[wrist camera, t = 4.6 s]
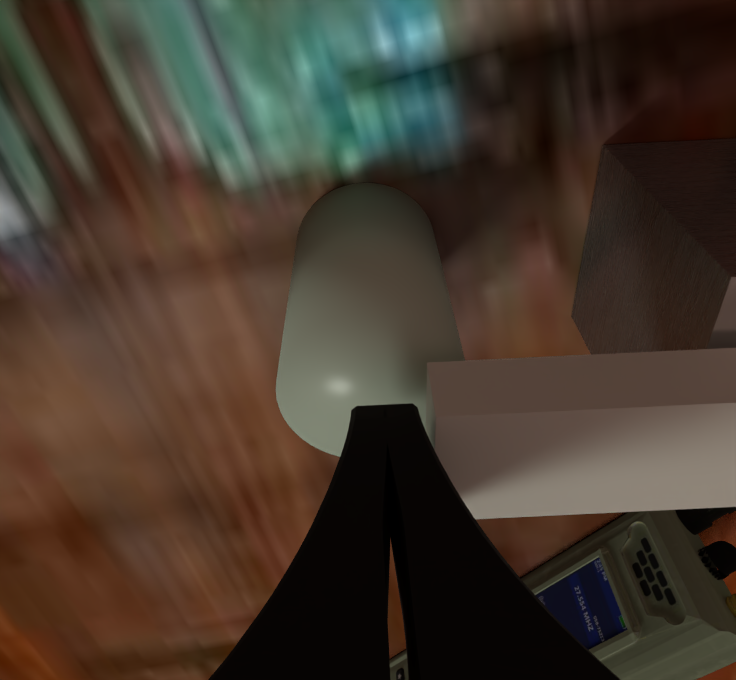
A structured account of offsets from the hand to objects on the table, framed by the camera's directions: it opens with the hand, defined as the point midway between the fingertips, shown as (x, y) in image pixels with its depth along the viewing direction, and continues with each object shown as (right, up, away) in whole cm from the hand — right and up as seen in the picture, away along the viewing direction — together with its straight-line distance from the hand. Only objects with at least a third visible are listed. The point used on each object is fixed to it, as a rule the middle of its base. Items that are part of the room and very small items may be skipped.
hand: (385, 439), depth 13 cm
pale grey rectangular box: (+7, +1, +1) cm, 7 cm away
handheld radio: (+9, -9, +18) cm, 22 cm away
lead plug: (0, +5, +7) cm, 9 cm away
